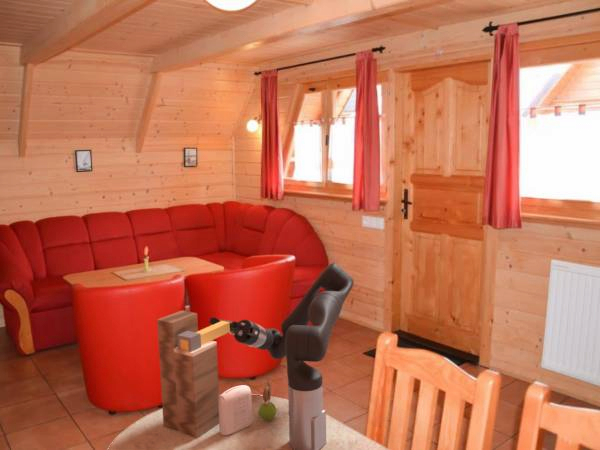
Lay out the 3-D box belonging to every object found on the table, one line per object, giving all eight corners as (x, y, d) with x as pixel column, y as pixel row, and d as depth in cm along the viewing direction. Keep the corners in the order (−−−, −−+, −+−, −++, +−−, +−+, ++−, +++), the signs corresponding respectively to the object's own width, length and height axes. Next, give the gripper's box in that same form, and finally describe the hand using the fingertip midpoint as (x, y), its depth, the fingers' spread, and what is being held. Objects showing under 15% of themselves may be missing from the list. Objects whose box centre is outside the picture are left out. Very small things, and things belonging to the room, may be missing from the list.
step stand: (220, 422, 160) (215, 316, 156) (196, 438, 152) (191, 326, 147) (187, 412, 167) (182, 310, 163) (163, 426, 159) (157, 319, 154)
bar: (232, 332, 165) (232, 319, 164) (191, 351, 150) (190, 338, 149) (219, 329, 167) (219, 317, 167) (178, 348, 152) (177, 334, 152)
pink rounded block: (245, 419, 162) (244, 380, 161) (254, 424, 159) (253, 384, 158) (217, 432, 155) (215, 391, 154) (226, 437, 152) (224, 396, 150)
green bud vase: (279, 414, 165) (278, 376, 163) (274, 424, 159) (273, 386, 157) (261, 413, 166) (260, 375, 164) (256, 423, 160) (255, 385, 158)
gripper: (236, 319, 182) (207, 307, 169) (271, 326, 174) (243, 313, 161) (230, 341, 179) (200, 330, 166) (265, 349, 172) (236, 338, 159)
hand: (221, 322), depth 164 cm, fingers open, 8 cm apart
